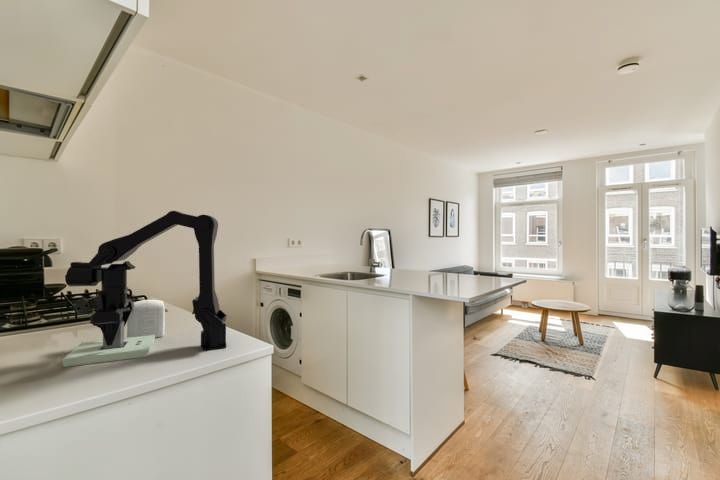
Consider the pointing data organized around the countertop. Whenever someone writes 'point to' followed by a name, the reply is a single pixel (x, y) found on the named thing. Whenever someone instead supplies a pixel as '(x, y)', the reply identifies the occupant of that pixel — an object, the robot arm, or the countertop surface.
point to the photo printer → (146, 319)
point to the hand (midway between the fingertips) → (114, 340)
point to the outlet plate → (109, 351)
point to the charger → (116, 339)
